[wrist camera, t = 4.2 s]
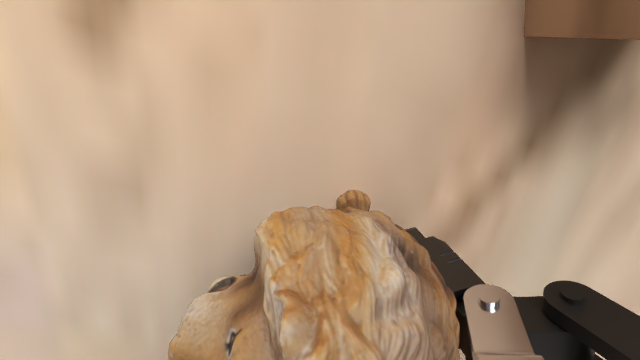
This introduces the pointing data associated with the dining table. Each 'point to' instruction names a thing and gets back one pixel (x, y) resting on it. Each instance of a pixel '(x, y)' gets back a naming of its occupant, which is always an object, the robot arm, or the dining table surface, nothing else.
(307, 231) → the lion figurine
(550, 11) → the walnut block
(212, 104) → the dining table surface
